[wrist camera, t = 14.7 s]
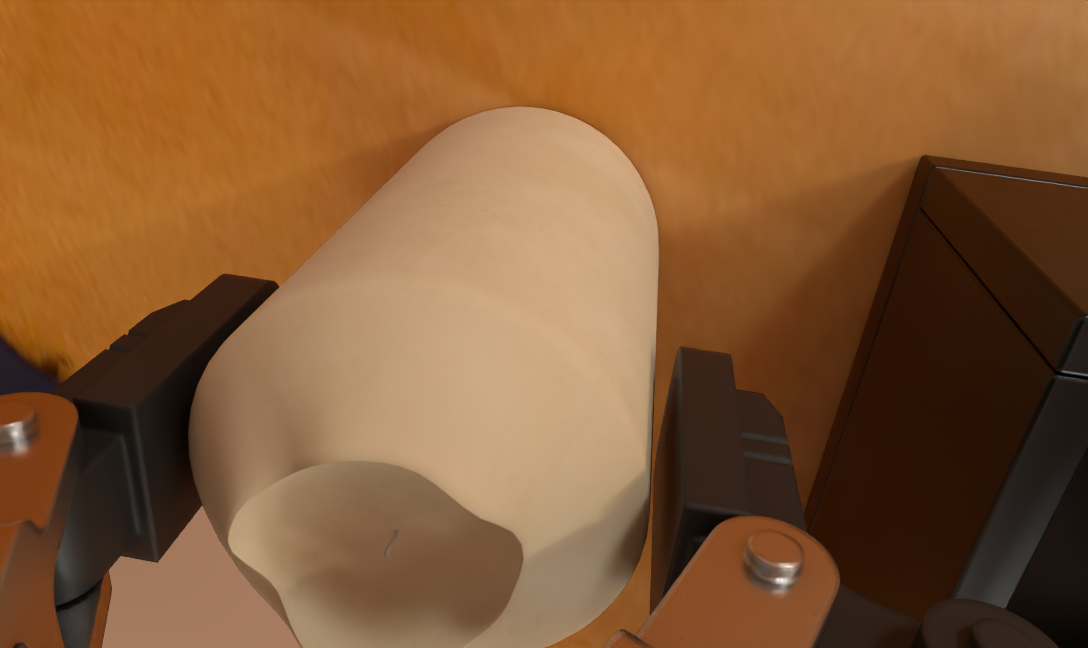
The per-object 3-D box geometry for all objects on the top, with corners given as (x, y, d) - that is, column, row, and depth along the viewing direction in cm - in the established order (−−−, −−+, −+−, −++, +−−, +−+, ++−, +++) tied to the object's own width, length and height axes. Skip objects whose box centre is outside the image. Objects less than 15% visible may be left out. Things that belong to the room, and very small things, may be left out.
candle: (597, 387, 19) (529, 826, 10) (369, 295, 18) (87, 659, 9) (706, 168, 16) (749, 495, 7) (442, 57, 16) (147, 255, 7)
